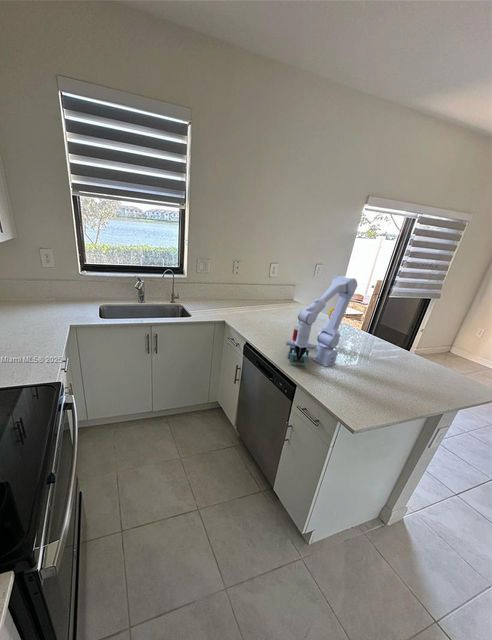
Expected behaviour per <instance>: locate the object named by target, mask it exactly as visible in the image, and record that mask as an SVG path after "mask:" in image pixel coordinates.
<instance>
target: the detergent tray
mask: <svg viewBox="0 0 492 640" xmlns="http://www.w3.org/2000/svg"><path fill="white" fill-rule="evenodd" d="M299 355H300V353H299ZM307 357H309V355H308V356H306V352H305V353H304V354H303V355H302V357H301V359H300V360H297V355H296V351H295V349H293V350H292V353H291V354H290V359H288V363H290V364H291V363H292V364H296V365H303V366H306V365H307V363H308V358H307Z"/></svg>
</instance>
